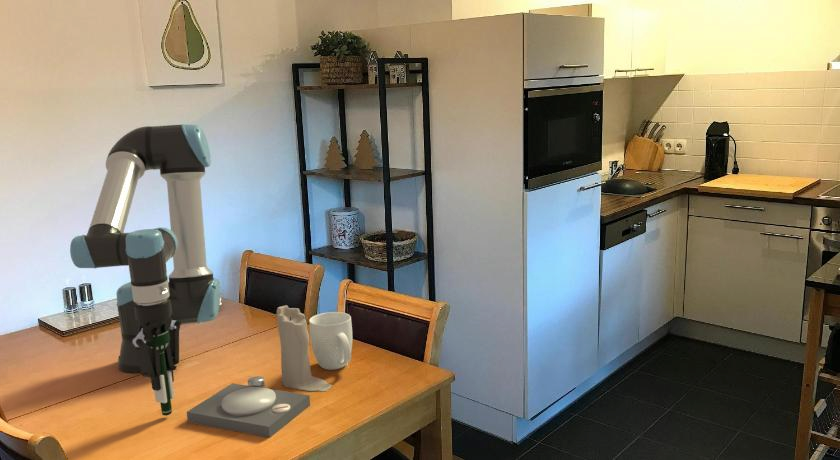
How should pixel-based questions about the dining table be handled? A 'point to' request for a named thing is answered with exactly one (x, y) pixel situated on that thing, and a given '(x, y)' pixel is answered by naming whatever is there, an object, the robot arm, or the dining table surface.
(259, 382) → the spacer
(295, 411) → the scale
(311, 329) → the mug
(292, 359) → the candle
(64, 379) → the dining table surface
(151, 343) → the flashlight
